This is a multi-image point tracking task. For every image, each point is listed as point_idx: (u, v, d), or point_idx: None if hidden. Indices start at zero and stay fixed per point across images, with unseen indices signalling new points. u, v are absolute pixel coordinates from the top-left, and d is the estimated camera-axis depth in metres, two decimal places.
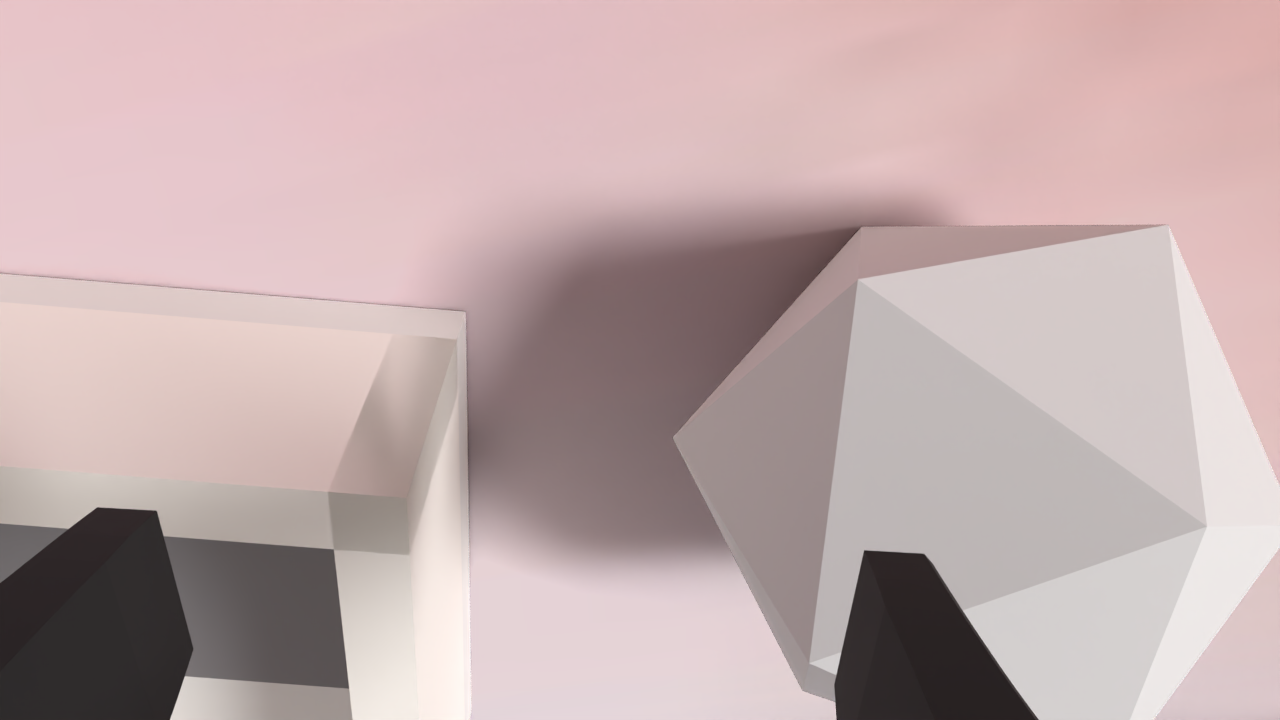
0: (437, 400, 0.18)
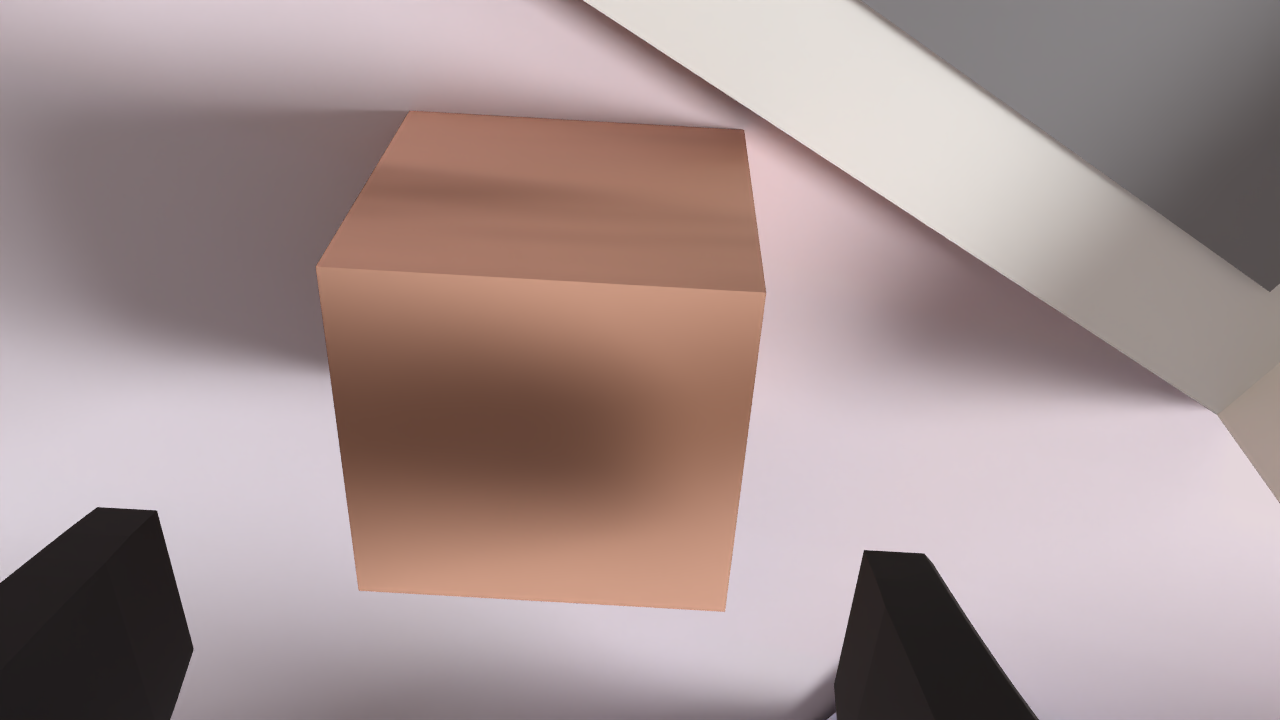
0: None
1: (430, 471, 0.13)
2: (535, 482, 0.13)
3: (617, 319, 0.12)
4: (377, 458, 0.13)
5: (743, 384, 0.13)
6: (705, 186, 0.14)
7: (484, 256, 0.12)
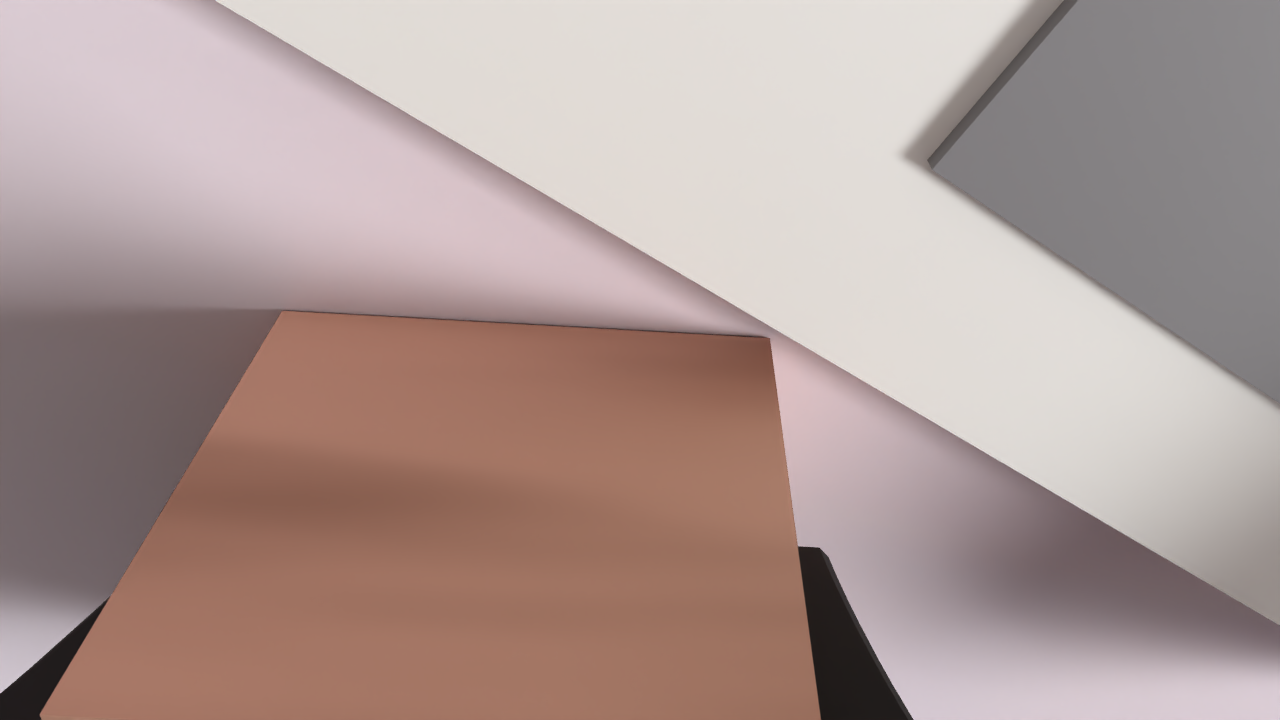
0: None
1: None
2: None
3: None
4: None
5: None
6: (715, 472, 0.09)
7: (343, 673, 0.07)
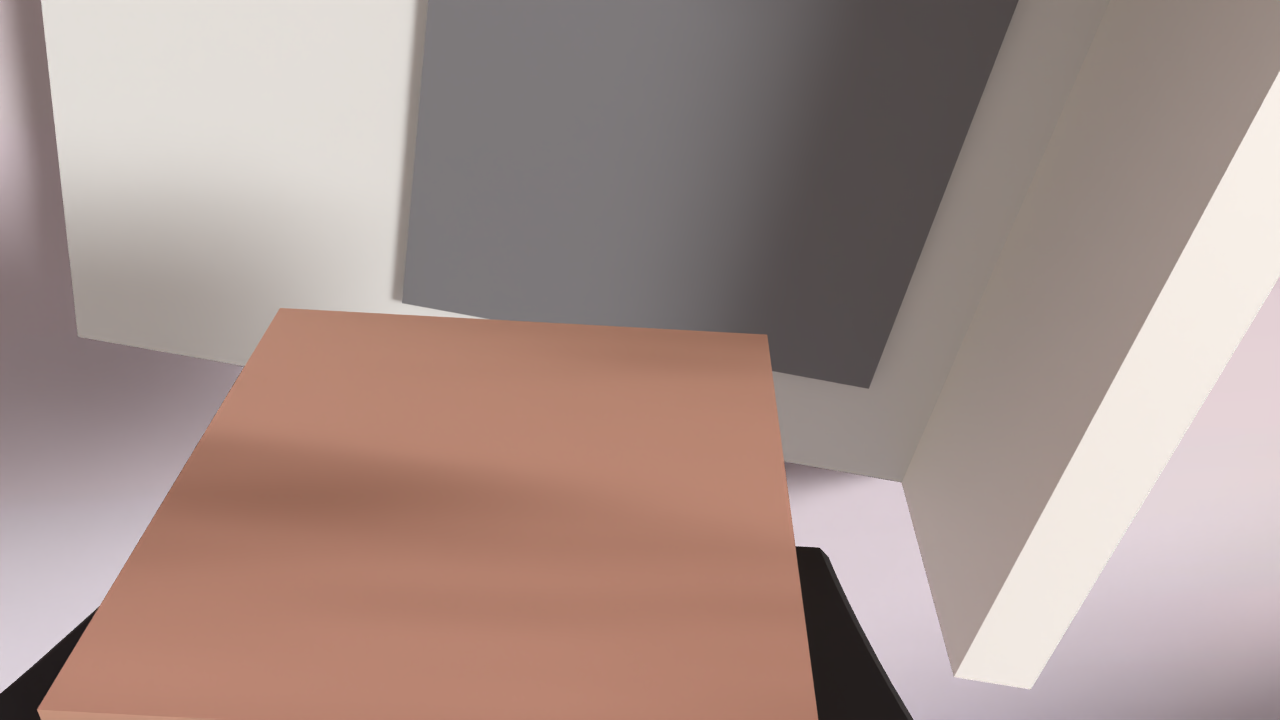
0: None
1: None
2: None
3: None
4: None
5: None
6: (712, 467, 0.09)
7: (339, 668, 0.07)
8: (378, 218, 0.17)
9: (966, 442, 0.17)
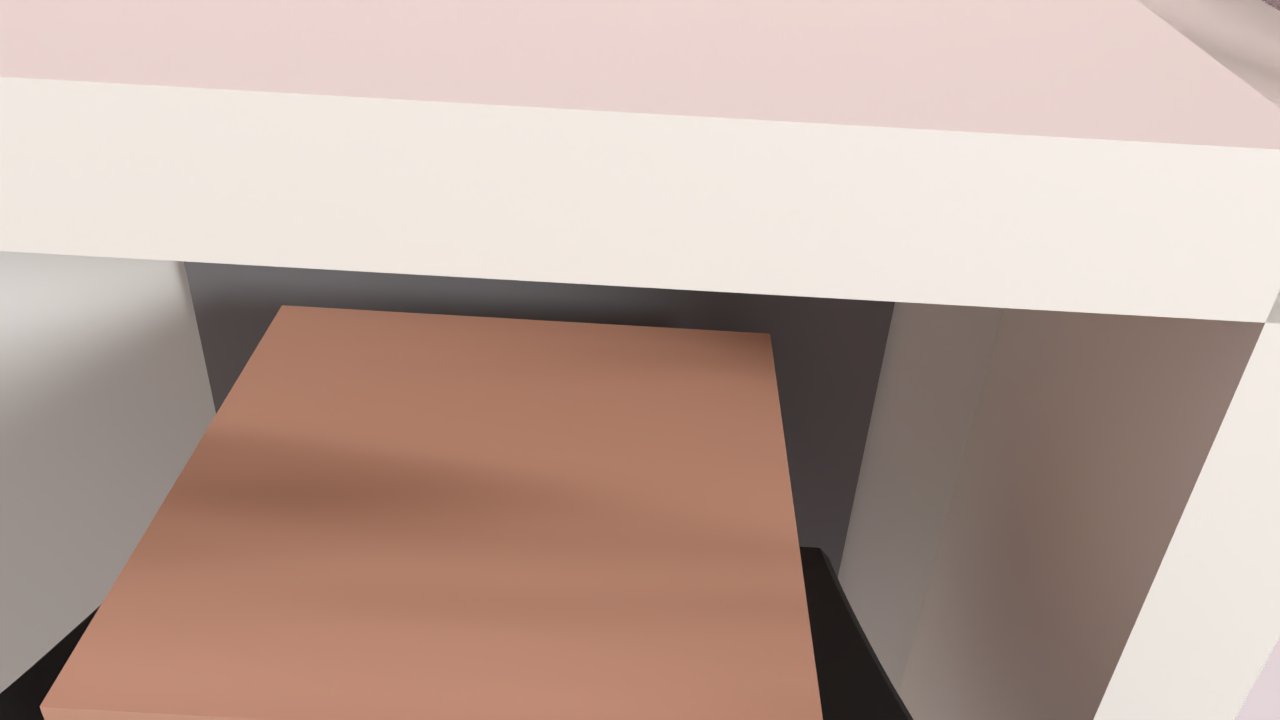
0: None
1: None
2: None
3: None
4: None
5: None
6: (716, 466, 0.09)
7: (342, 666, 0.07)
8: None
9: None
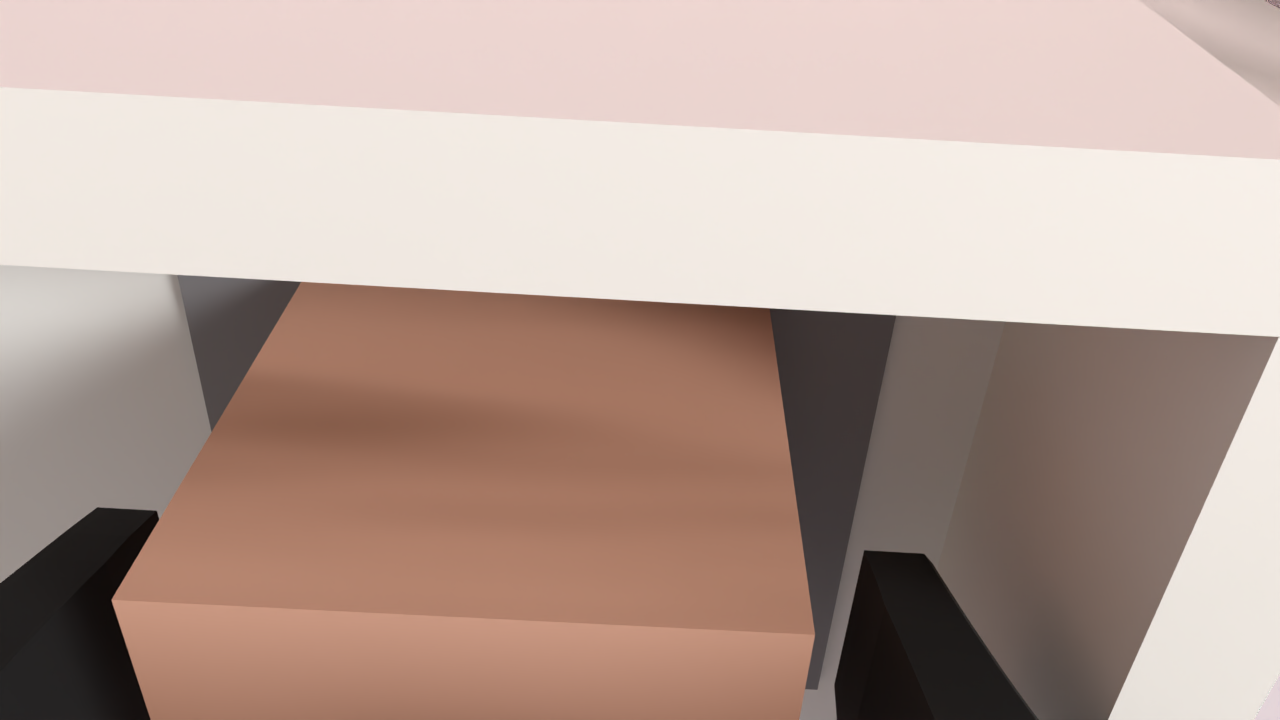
0: None
1: None
2: None
3: (585, 666, 0.08)
4: None
5: None
6: (715, 401, 0.10)
7: (379, 566, 0.08)
8: None
9: None
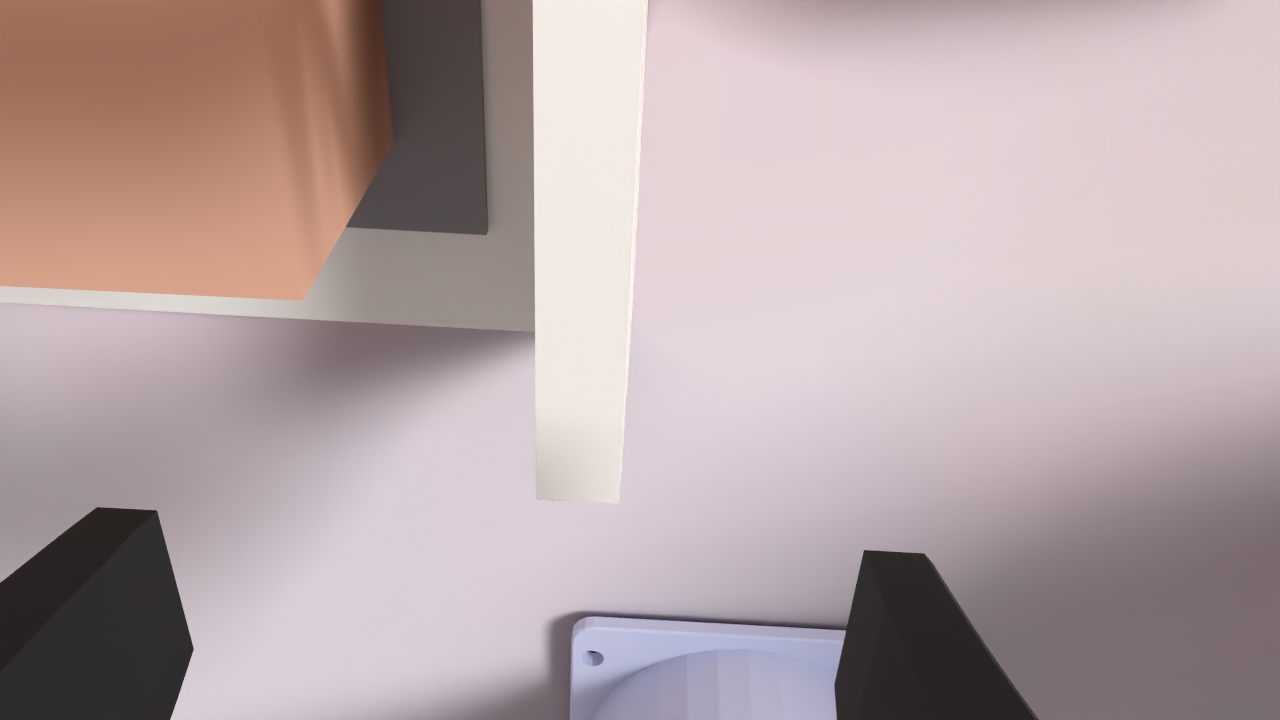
0: None
1: None
2: (44, 126, 0.12)
3: None
4: None
5: None
6: None
7: None
8: None
9: None
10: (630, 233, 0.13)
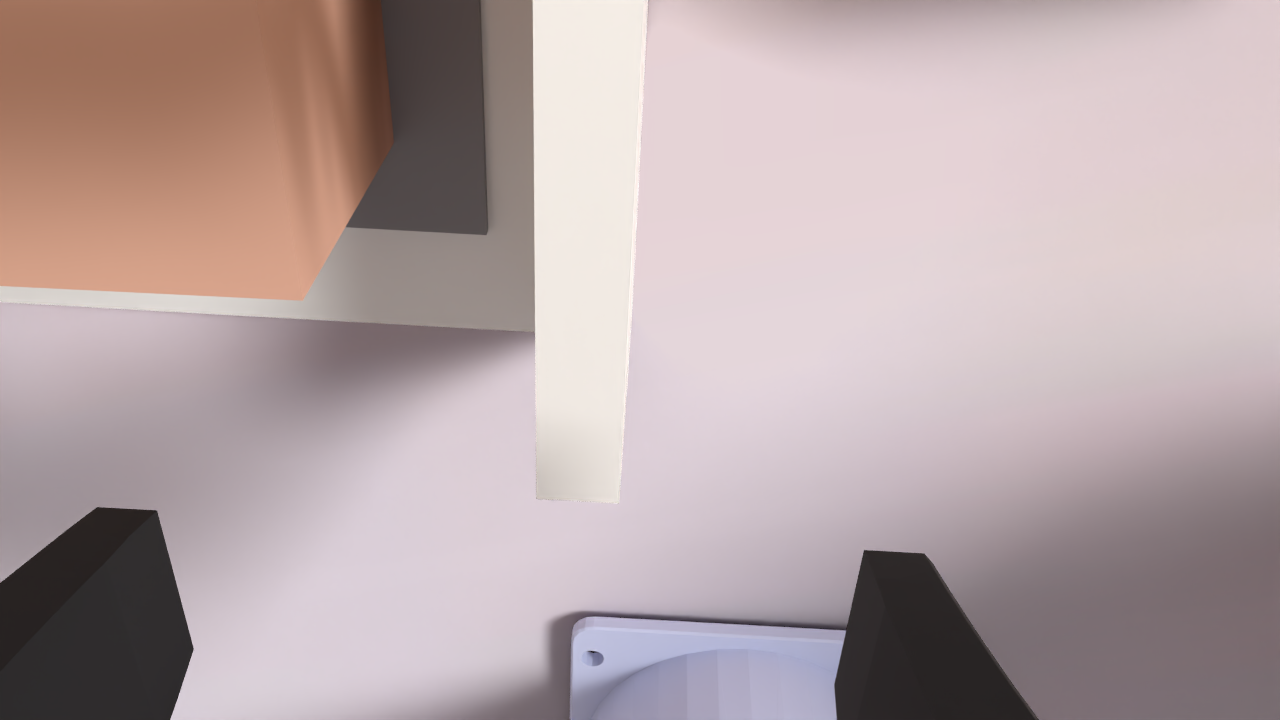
0: None
1: None
2: (44, 126, 0.12)
3: None
4: None
5: None
6: None
7: None
8: None
9: None
10: (630, 233, 0.13)
